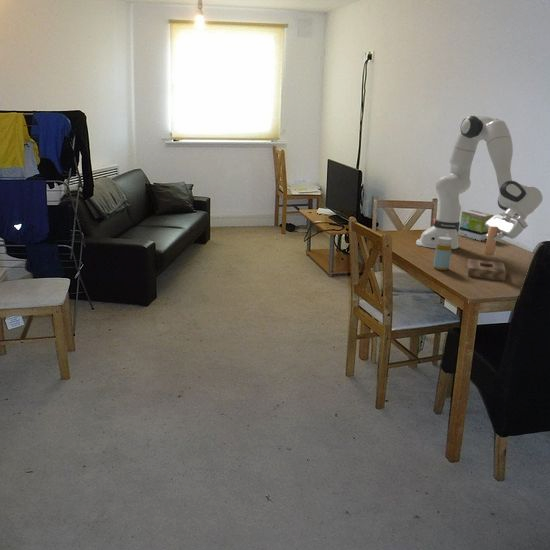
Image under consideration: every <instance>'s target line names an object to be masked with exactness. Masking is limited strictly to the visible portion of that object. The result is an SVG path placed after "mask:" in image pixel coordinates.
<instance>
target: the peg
mask: <svg viewBox="0 0 550 550" xmlns="http://www.w3.org/2000/svg"><path fill="white" fill-rule="evenodd" d="M497 232H498V227H497V226H489V229H488V236H487V240H486V242H485V243H486V244H485V251H484V255H485V256H491V257H492V256H495V250H496V243H497V241H493V239H492V238H493V237H494V236H497V235H498V233H497Z"/></svg>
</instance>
